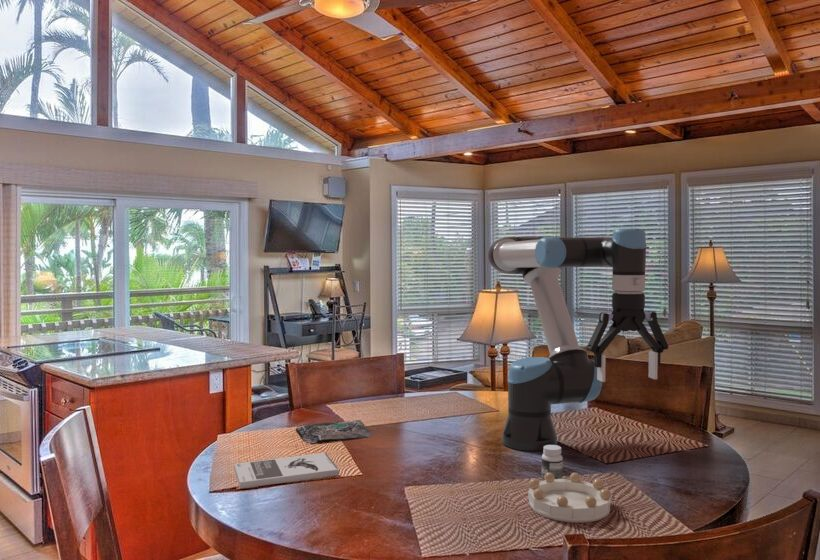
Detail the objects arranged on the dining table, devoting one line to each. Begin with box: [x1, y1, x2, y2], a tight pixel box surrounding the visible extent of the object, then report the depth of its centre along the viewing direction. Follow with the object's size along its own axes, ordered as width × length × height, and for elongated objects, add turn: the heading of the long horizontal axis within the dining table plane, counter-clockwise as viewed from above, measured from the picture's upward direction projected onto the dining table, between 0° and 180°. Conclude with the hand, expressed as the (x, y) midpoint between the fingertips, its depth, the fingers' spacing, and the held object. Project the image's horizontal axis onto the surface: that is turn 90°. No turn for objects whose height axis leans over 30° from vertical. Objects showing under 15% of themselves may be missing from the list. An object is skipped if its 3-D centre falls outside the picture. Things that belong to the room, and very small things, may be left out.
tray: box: [527, 472, 612, 524], centre depth 132 cm, size 17×17×5 cm
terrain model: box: [295, 419, 373, 445], centre depth 187 cm, size 20×15×3 cm
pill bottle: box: [541, 444, 564, 481], centre depth 145 cm, size 5×5×8 cm
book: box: [233, 452, 340, 490], centre depth 154 cm, size 23×14×2 cm, turn 111°
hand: (627, 379), depth 154 cm, fingers open, 13 cm apart
